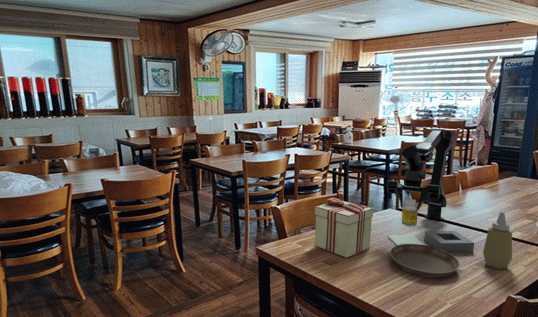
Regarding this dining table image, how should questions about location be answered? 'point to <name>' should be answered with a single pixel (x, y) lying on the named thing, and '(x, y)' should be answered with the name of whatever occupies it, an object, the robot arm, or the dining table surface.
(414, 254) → the plant saucer
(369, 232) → the gift box
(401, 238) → the tile
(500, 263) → the squeeze bottle
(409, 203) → the supplement bottle
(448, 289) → the dining table surface
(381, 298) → the dining table surface
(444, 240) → the holder
